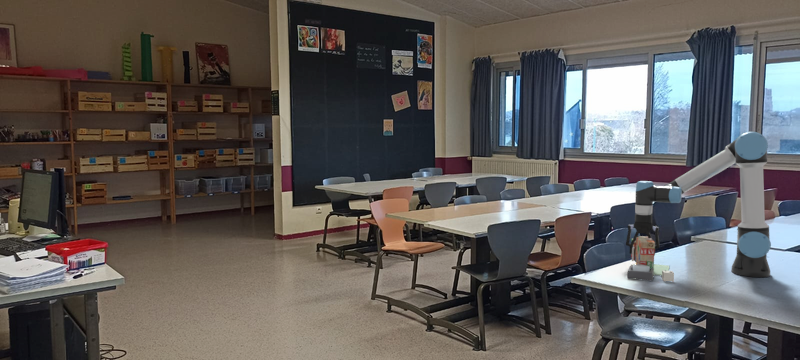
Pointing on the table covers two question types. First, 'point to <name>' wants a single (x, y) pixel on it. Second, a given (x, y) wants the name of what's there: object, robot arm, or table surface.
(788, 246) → the table surface
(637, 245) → the printed cardboard box
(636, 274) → the box
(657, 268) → the square one pad
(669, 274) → the die
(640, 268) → the white rounded block
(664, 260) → the table surface
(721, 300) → the table surface
